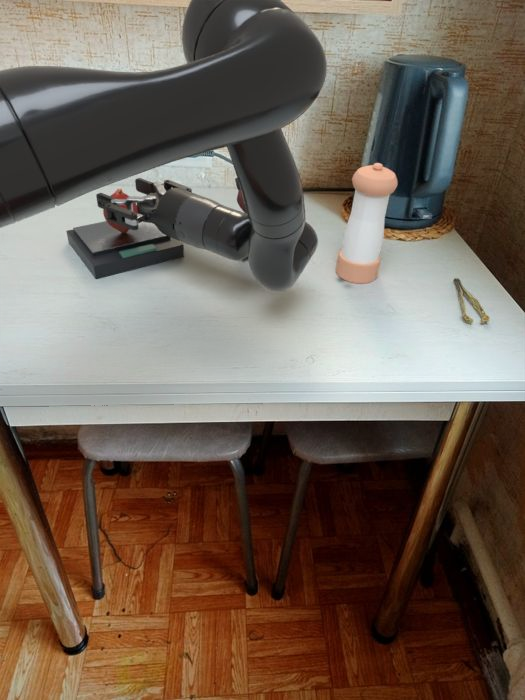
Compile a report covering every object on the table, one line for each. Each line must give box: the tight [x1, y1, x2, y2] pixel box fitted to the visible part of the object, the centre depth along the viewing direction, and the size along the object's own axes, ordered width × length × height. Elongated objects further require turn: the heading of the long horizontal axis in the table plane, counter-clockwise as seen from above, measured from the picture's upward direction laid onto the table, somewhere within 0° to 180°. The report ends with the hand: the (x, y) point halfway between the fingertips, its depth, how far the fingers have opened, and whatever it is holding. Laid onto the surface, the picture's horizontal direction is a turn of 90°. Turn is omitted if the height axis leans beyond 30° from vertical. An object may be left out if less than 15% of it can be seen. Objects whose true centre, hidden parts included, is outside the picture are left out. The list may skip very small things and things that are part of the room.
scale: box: [66, 220, 185, 280], centre depth 90 cm, size 16×14×3 cm
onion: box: [102, 187, 139, 233], centre depth 87 cm, size 6×6×8 cm
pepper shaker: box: [335, 162, 399, 284], centre depth 84 cm, size 7×7×19 cm
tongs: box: [452, 277, 490, 325], centre depth 84 cm, size 4×13×2 cm, turn 3°
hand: (118, 191), depth 84 cm, fingers open, 8 cm apart
